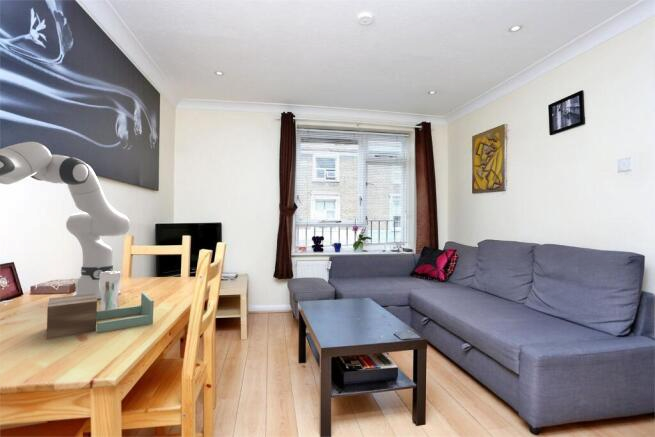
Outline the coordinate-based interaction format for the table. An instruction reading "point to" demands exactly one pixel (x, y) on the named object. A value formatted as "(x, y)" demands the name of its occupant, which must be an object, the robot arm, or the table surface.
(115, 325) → the green bay
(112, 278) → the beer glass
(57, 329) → the walnut block
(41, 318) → the table surface
